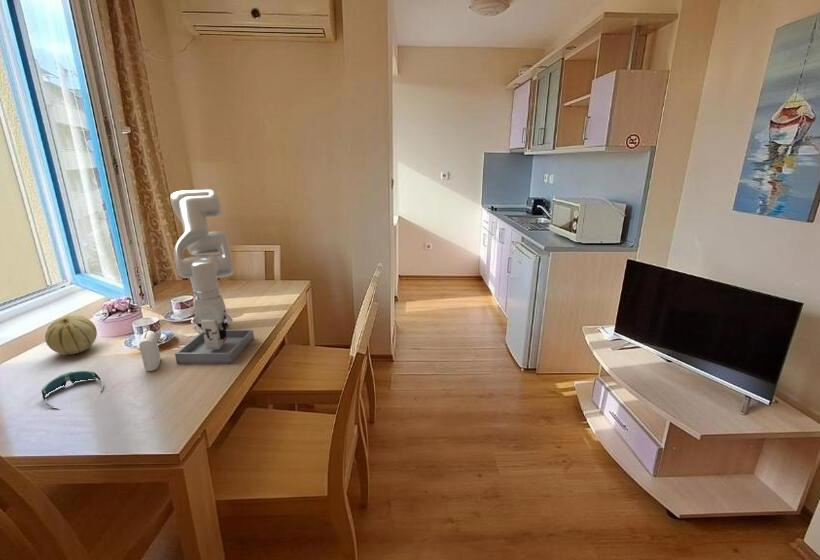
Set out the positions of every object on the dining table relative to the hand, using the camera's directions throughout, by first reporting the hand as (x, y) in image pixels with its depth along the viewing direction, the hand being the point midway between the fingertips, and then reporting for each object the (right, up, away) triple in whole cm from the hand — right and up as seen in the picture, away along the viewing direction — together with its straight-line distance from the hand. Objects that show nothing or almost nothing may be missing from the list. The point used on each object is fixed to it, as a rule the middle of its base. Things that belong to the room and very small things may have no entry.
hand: (215, 337), depth 147 cm
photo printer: (-18, -9, -8) cm, 22 cm away
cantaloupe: (-54, -6, +1) cm, 54 cm away
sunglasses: (-32, -14, -25) cm, 43 cm away
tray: (0, -5, +2) cm, 5 cm away
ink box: (0, -3, +1) cm, 3 cm away
